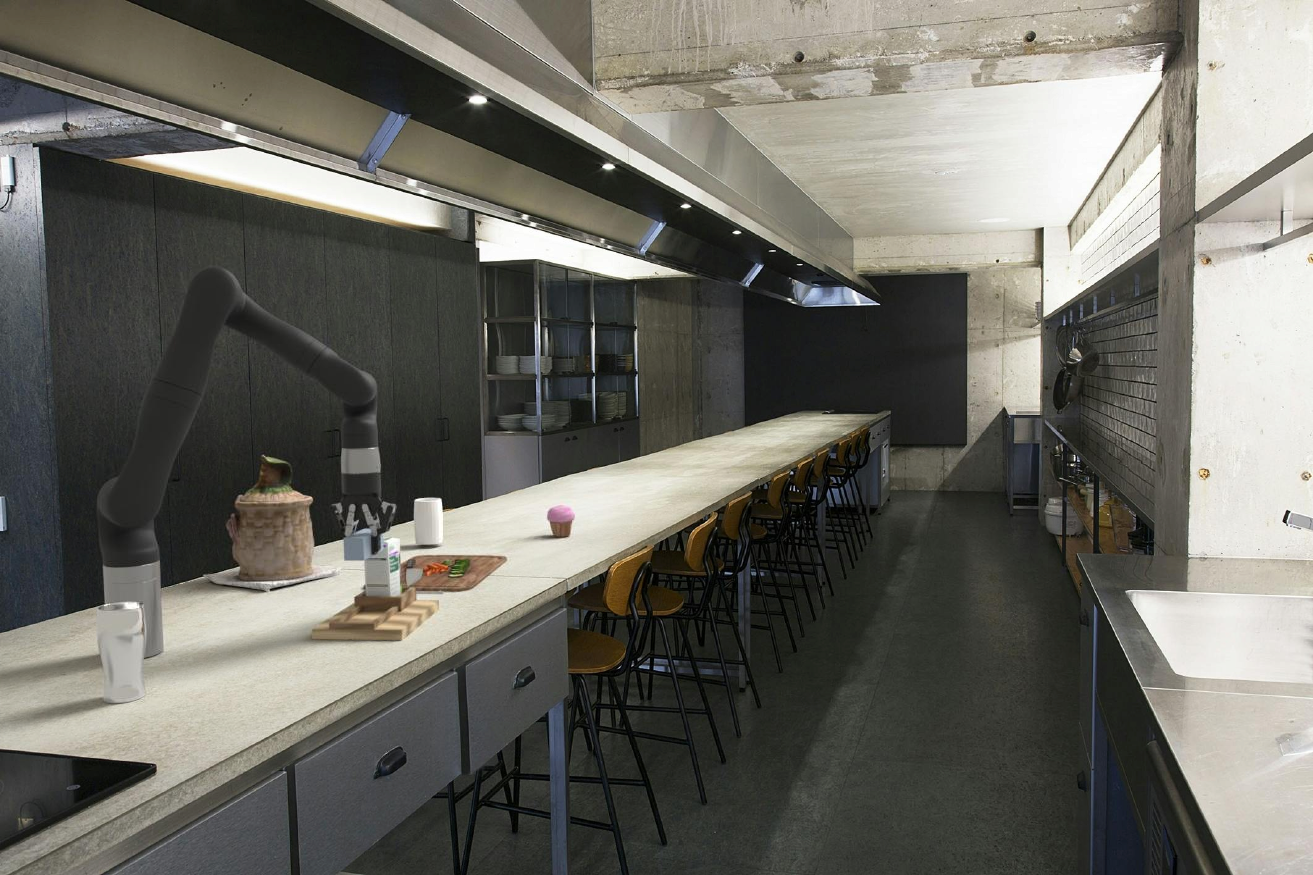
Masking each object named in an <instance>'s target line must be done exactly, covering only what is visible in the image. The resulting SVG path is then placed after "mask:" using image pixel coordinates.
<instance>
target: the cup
mask: <svg viewBox="0 0 1313 875" xmlns="http://www.w3.org/2000/svg"><path fill="white" fill-rule="evenodd" d="M413 502H414V504H413V506H414V507H413V527H414V528H413V529H414V540H415V544H417V545H437V544H441V543H443V534H444V521H443V520H444V517H443V516H444V515H443V514H444V513H443V502H442V498H440V497H424V498H422V497H421V498H417V499H414V501H413Z"/></svg>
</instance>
